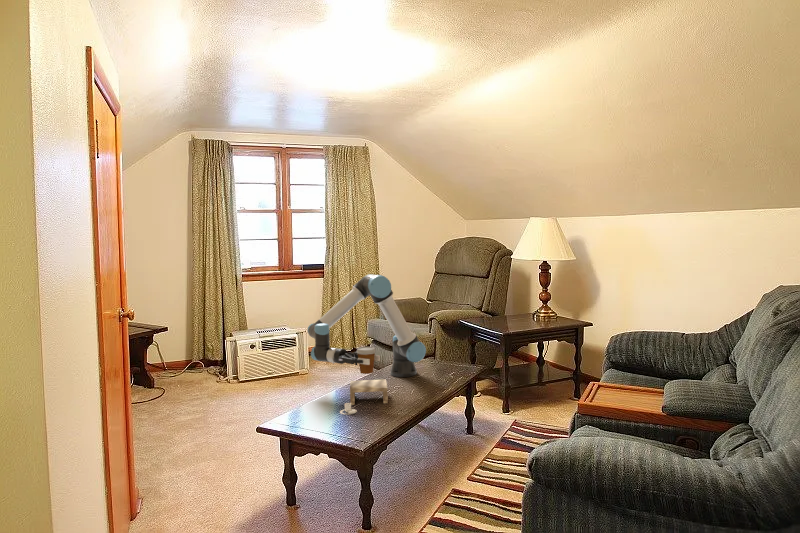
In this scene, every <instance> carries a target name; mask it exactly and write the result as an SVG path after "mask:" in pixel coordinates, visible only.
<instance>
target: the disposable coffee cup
mask: <svg viewBox="0 0 800 533" xmlns="http://www.w3.org/2000/svg"><path fill="white" fill-rule="evenodd" d="M356 352H357V354H358V358H364V359H370V365H365V364H358V366H359V371H360V374H362V375H368V374H369V375H370V374H373V373H374V368H375V366H374V365H375V361H374V357H375V355H376V348H375V347H373V346H361V347H357V349H356Z"/></svg>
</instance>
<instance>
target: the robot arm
mask: <svg viewBox="0 0 800 533" xmlns="http://www.w3.org/2000/svg"><path fill="white" fill-rule="evenodd" d="M393 295H394V291H393V289H392V283H391V281H390V280H389V279H388V278H387V277H386V276H384V275H382V274H375V273H369V274H367V275H365V276H363V277H362V278H360V279H359V280H358V281H357V282H356V283H355V284H354V285H353V286H352V289H351V290H350V291H349V292H348V293H346V295H344V296H343V297H342V298H341V299H340V300H339V301H338V302H337V303H336V304H334V305H333V306H332V307H331V308H330V309H329V310H328V311H327V312H326V313H324V314H323V315H322V316H321V317H320V318H319V319H317V321H316V322H313V323H310V324H309V325H308V327H307V330H306V331H307V333H308V335H309V336H310V338H313V339H314V346H313V347H312V348H311V350H310V357H311V359H312V360H314V361H318V362H327V363H332V364H333V365H334V364H340V365H343V364H347V365H348V364H349V365H355V366H358V365H359V364H365V365H370V359H364V358H358V354H357V351H353V352H348V351H347V350H346V349H345V348H338V347H330V346H331V343H330V342H331V340H330V339H331V338H330V337H331V336H330V329H331V328H332V327H333V326H334V325H335V324H336V323H338V321H339V320H341V319H342V318H343V317H344V316H345V315H346V314H347V313H348V312H350V310H352V309H353V308H354V307H355V306H356V305H357V304H358V303H359V302H361V301H362V300H363V301H365V299H367V298H368V297H369V296H370V298H371V300H372V302H373V303H374V304H376V305H378V306H379V308H380V310H381V312H382V313H383V315H384V317H385V319H386V321H387V322H388V325H389V326H390V328H391V330H392V332H393V333H394V336H392V357H393V358H392V360H393V361H392V364H391V368H390V376H393V377H395V378H396V377H397V378H409V377H414V376H416V375H417V374H418V373H417V368H416V364H415V363H418V362H421V361H422V360H423V359H424V357H425V356H426V352H427V349H426V346H425V344H424V343H423V342H421V341H420V339H419V337H418V336H417V334H416V333H414V332H412V330H411V328H410V327H409V325H408V323H407V321H406V319H405V317H404V316H403V313H402V312H401V310H400V308H399V307H398V305H397V303H396V302H395V299H394V297H393ZM380 357H381V356H380V355H377V354H375V357H374V362H375V361H376V362H380V361H381V360H380V359H381V358H380Z"/></svg>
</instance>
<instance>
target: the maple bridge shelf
mask: <svg viewBox="0 0 800 533" xmlns="http://www.w3.org/2000/svg"><path fill="white" fill-rule="evenodd" d="M349 382H350V383H349V386H350V387H349V395H350V396H349V397H350V398H349V399H350V400H349V401H350V402H349V403H351V406H355V403H356V393H375V392H382V394H381V395H382V402H383V404H388V403H389V399H388V398H389V396H388V385H387V384H388V383H387V379H386V378H383V379H365V380H364V379H363V380H350V381H349Z"/></svg>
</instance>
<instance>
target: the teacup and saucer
mask: <svg viewBox="0 0 800 533" xmlns="http://www.w3.org/2000/svg"><path fill="white" fill-rule="evenodd" d="M344 411H345V412H344ZM357 412H358V411H357V409H355V408H352V405H351V403H350V402H345V403H344V409H341V410H339V413H340V415H346V413H347V414H348V415H353V414H354V415H355V414H356V413H357Z"/></svg>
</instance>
